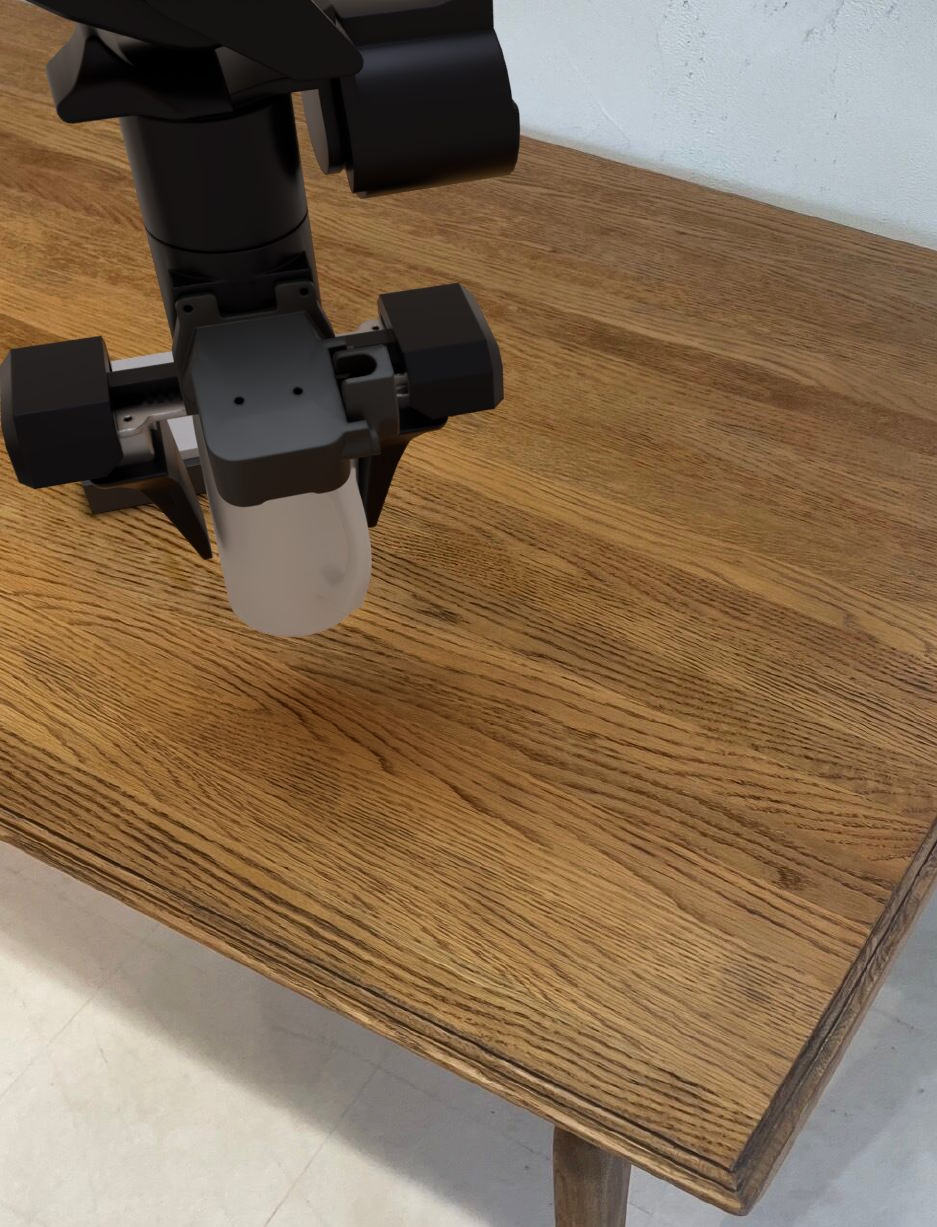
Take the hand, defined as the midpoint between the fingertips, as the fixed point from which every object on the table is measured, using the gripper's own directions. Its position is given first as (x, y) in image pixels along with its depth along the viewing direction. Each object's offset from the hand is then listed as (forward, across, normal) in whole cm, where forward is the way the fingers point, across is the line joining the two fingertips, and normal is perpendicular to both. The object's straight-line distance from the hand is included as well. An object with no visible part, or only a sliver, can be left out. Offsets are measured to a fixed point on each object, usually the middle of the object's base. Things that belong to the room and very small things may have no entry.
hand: (289, 537), depth 57 cm
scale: (+13, -4, +26) cm, 29 cm away
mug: (+5, 0, 0) cm, 5 cm away
